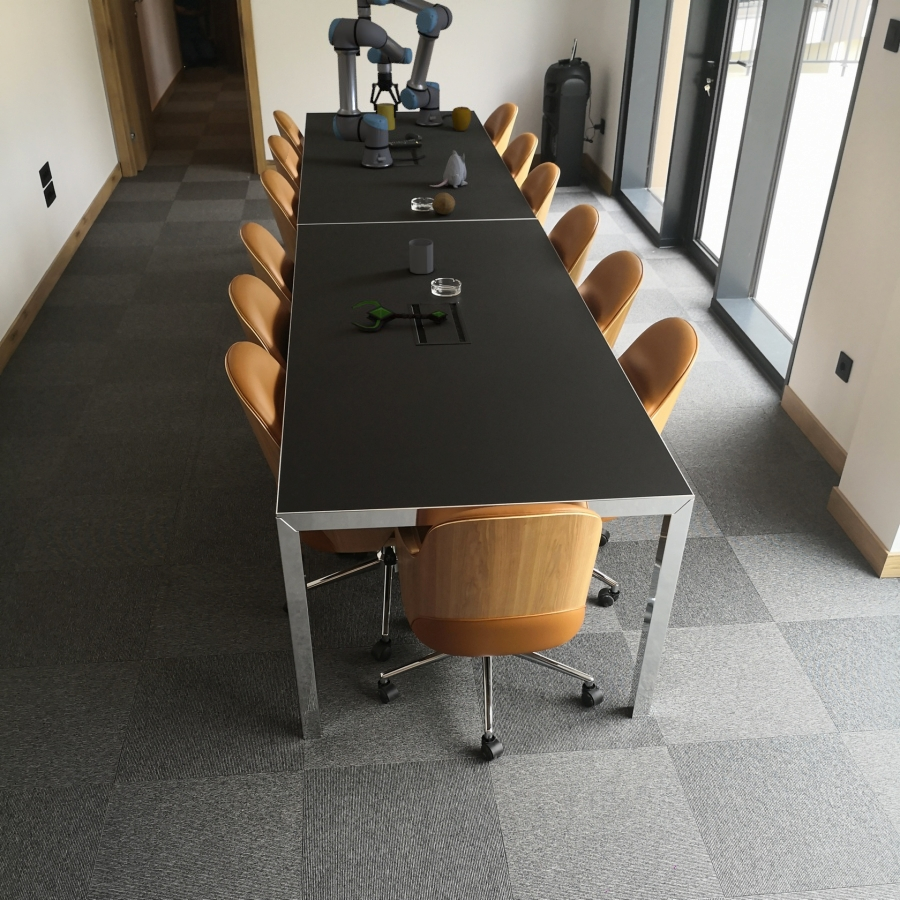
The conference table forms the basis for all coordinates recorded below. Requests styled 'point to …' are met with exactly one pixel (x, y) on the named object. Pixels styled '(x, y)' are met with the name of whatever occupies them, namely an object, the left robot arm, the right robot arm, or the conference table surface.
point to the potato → (443, 203)
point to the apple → (461, 118)
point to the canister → (387, 113)
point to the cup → (421, 256)
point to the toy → (454, 171)
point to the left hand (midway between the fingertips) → (386, 117)
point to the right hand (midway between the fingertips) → (366, 57)
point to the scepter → (393, 315)
